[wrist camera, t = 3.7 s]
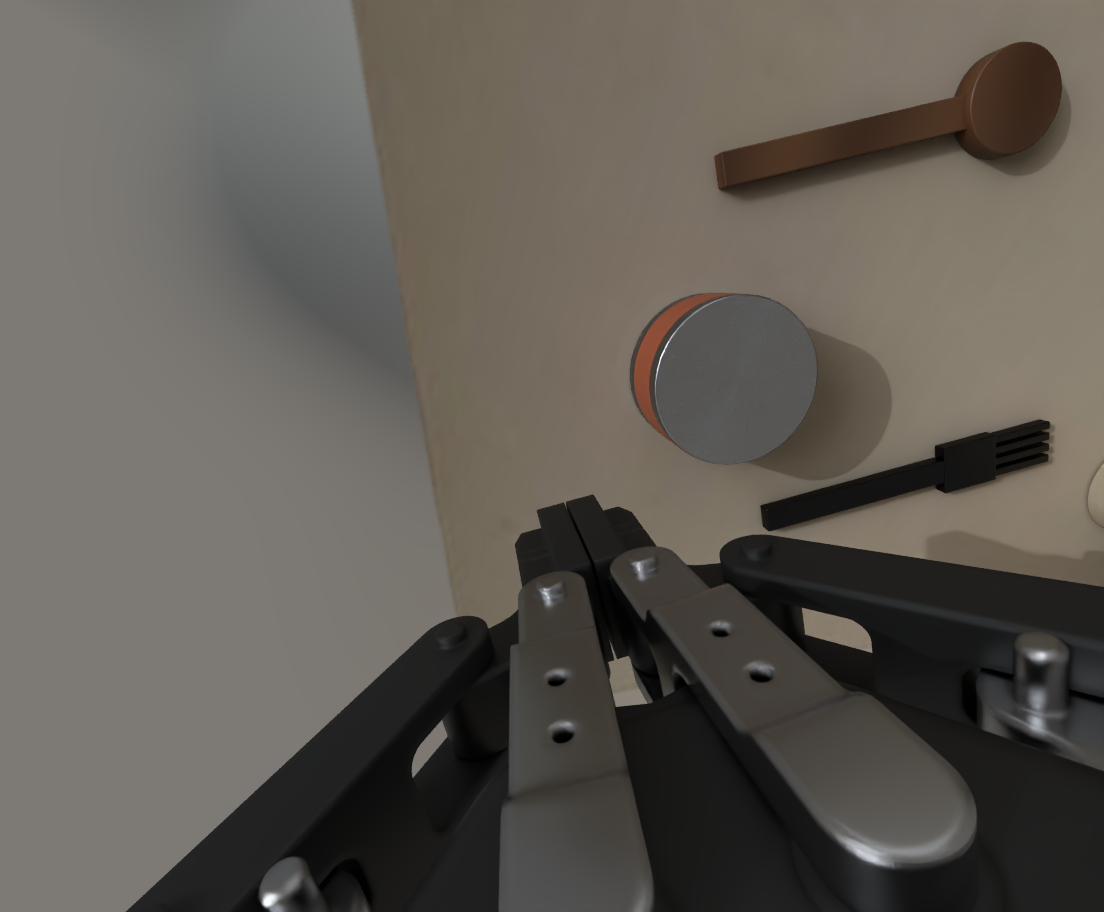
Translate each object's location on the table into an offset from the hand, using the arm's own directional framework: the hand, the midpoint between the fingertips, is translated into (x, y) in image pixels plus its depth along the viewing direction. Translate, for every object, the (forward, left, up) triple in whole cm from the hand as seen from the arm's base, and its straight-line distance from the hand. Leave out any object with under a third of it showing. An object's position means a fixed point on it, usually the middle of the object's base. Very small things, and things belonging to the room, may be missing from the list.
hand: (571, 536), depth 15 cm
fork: (+8, +20, -14) cm, 26 cm away
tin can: (0, +9, -14) cm, 16 cm away
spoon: (-9, +19, -14) cm, 25 cm away
